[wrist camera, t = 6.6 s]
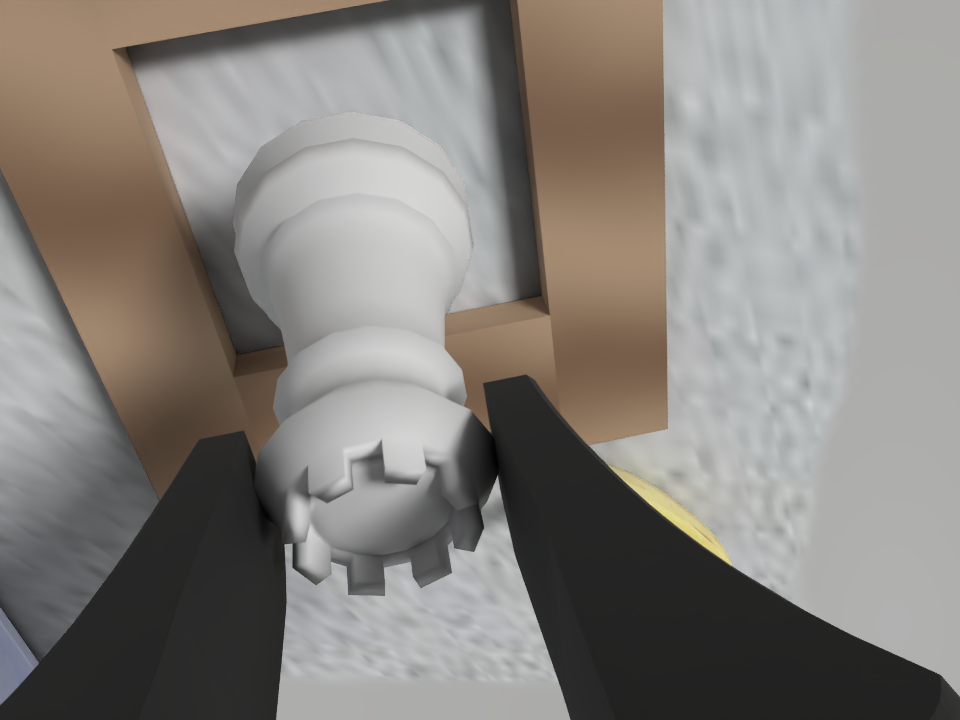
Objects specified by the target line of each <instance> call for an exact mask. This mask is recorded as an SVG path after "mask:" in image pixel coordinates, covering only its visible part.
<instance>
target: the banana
mask: <svg viewBox="0 0 960 720" xmlns="http://www.w3.org/2000/svg"><path fill="white" fill-rule="evenodd" d="M608 466H609V467H610V468H611V469H612V470H613V471H614V472H615V473H616V474H617V475H618V476H619V477H620V478H621V479H622V480H623V481H624V482H626V483H627V484H628V485H629V486H630V487H631V488H632V489H633V490H634V491H636V492H637V493H638V494H639V495H640V496H641V497H642V498H643V499H645V500H646V501H647V502H648V503H649V504H650V505H651V506H653V507H654V508H655V509H656V510H657V511H659V512H660V513H661V514H662V515H663V516H665V517H666V518H667V519H668V520H670V521H671V522H672V523H673V524H674V525H676V526H677V527H678V528H680V529H681V530H682V531H684V532H685V533H686V534H688V535H689V536H690V537H692V538H693V539H694V540H696V541H697V542H698V543H700V544H701V545H702V546H704V547H705V548H707V549H708V550H709V551H711V552H712V553H714V554H715V555H717V556H718V557H719V558H721V559H722V560H724V561H725V562H727V563H728V564H730V565H731V566H732V563H731V560H730V558H729V556H728V555H727V553H726V551H725V549H724V548H723V546H722V545H721V544H720V542H719V541H718V540H717V538H716V537H715V536H714V535H713V534H712V533H711V532H710V531H709V530H708V528H707V527H706V526H705V525H704V524H703V523H702V522H701V521H699V520H698V519H697V518H696V517H695V516H694V515H692V514H691V513H690V512H689V511H687V510H686V509H685V508H684V507H682V506H681V505H680V504H679V503H677V502H676V501H675V500H674V499H672V498H671V497H670V496H668V495H667V494H666V493H664V492H663V491H661V490H660V489H658V488H656V487H655V486H653V485H652V484H650V483H648V482H646V481H644V480H642V479H641V478H639V477H637V476H635V475H633V474H631V473H629V472H627V471H624V470H621V469H618V468H616V467H613V466H610V465H608ZM732 567H733V566H732Z"/></svg>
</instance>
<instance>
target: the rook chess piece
mask: <svg viewBox="0 0 960 720" xmlns="http://www.w3.org/2000/svg"><path fill="white" fill-rule="evenodd" d="M233 229H234V231H235V234H236V238H235V247H234V253H235V256H236V258H237V261H238V264H239V266H240V269H241V272H242V274H243V277H244V280H245V282H246V285H247V288H248V290H249V292H250V295H251V297H252V299H253V301H254V302H255V303H256V304H257V305H258V306H259V307H260V308H261V309H262V310H263V311H264V312H265V313H266V314H267V315H268V318H269V319H270V320H271V321H272V322H273V323H274V324H275V325H276V326H277V327H278V328H279V329H280V330H281V332H282V337H283V341H284V346H285V351H286V356H287V361H288V366H287V368H286V369H285V370H284V371H283V373H282V374H281V375H280V377H279V378H278V379H277V385H276V391H275V397H274V403H273V410H274V412H275V415H276V418H277V420H278V423H279V425H280V427H279V428H278V429H277V430H276V432H275V433H274V434H273V435H272V437H271V438H270V439H269V440H268V442H267V443H266V444H265V445H264V447H263V448H262V449H261V450H260V452H259V453H258V458H257V465H256V471H255V477H254V484H253V486H254V489H255V492H256V494H257V496H258V498H259V501H260V503H261V505H262V507H263V510H264V512H265V514H266V516H267V518H268V519H269V520H270V521H271V522H272V523H273V524H275V525H276V526H277V527H278V528H280V529H281V530H282V544H291V543H293V568H294V569H295V570H296V571H298V572H299V573H300V574H302V575H303V576H304V577H306V578H307V579H308V580H310V581H311V582H312V583H314V584H315V585H317V584H319V583H320V582H321V581H323V580H324V579H325V578H327V577H328V576H330V575H331V562H334V563H337V564H340V565H343V566H346V567H347V579H348V595H377V596H385V579H384V567H389V566H393V565H398V564H403V563H407V562H411V564H412V572H413V577H414V579H415V580H416V582H417V583H418V585H419V586H420V588H422V587H424V586H426V585H428V584H430V583H432V582H434V581H436V580H438V579H440V578H442V577H444V576H447V575H449V574H451V573H452V570H451V564H450V558H449V552H448V546H447V545H448V544H449V543H450V542H451V541H452V540H453V543H454V548H456V549H461V550H467V551H472V552H474V551H475V548H476V546H477V544H478V541H479V539H480V536H481V534H482V531H483V529H484V525H483V520H482V515H481V511H480V510H481V508H482V507H483V506H484V505H485V503H486V502H487V500H488V498H489V495H490V493H491V490H492V488H493V485H494V483H495V480H496V478H497V475H498V473H499V467H498V461H497V455H496V448H495V442H494V436H493V435H492V434H491V433H490V432H489V431H488V429H487V428H486V427H485V426H484V425H483V424H482V423H481V421H480V420H479V419H478V418H477V417H476V416H475V414H474V413H473V412H472V411H471V410H470V409H468V408H466V407H464V404H465V401H466V399H467V394H466V389H465V383H464V378H463V372H462V369H461V368H460V367H459V365H458V364H457V363H456V362H455V361H454V359H453V358H452V357H451V356H450V355H449V353H448V352H447V351H446V350H445V315H446V314H447V313H448V311H449V310H450V307H451V304H452V301H453V300H454V299H455V297H456V296H457V295H458V294H459V293H460V290H461V287H462V284H463V281H464V277H465V274H466V271H467V267H468V264H469V261H470V258H471V253H472V249H473V240H472V233H471V227H470V218H469V211H468V205H467V198H466V192H465V185H464V181H463V179H462V178H461V176H460V175H459V173H458V172H457V170H456V169H455V167H454V166H453V164H452V163H451V161H450V160H449V159H448V157H447V156H446V154H445V153H444V151H443V150H442V148H441V147H440V145H438V144H436V143H435V142H433V141H432V140H430V139H428V138H427V137H425V136H424V135H422V134H421V133H419V132H417V131H416V130H414V129H413V128H411V127H409V126H408V125H406V124H405V123H403V122H402V121H399V120H394V119H388V118H383V117H378V116H372V115H367V114H361V113H356V112H346V113H341V114H336V115H331V116H325V117H320V118H315V119H310V120H304V121H301V122H299V123H298V124H296V125H295V126H293V127H292V128H290V129H288V130H287V131H285V132H284V133H282V134H281V135H279V136H278V137H276V138H274V139H273V140H271V141H270V142H268V143H267V144H265V145H264V146H262V147H261V148H260V150H259V151H258V153H257V154H256V156H255V157H254V159H253V161H252V162H251V164H250V165H249V167H248V168H247V170H246V171H245V173H244V175H243V176H242V178H241V179H240V181H239V182H238V184H237V190H236V199H235V208H234V217H233Z"/></svg>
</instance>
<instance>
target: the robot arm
mask: <svg viewBox="0 0 960 720" xmlns="http://www.w3.org/2000/svg"><path fill="white" fill-rule="evenodd" d="M483 388H484V394H485V400H486V406H487V412H488V418H489V424H490V430H491V434H492V435H493V436H494V442H495V448H496V455H497V461H498V467H499V473H498V478H499V484H500V490H501V495H502V499H503V504H504V508H505V513H506V517H507V522H508V526H509V530H510V535H511V539H512V543H513V548H514V552H515V556H516V559H517V562H518V565H519V568H520V571H521V574H522V577H523V580H524V582H525V585H526V588H527V591H528V594H529V597H530V600H531V603H532V606H533V609H534V612H535V614H536V617H537V620H538V623H539V626H540V629H541V632H542V635H543V638H544V641H545V643H546V646H547V649H548V652H549V655H550V658H551V661H552V664H553V667H554V669H555V672H556V675H557V678H558V681H559V684H560V687H561V690H562V693H563V696H564V699H565V703H566V706H567V709H568V713H569V716H570V719H571V720H960V697H959V695H958V694H957V693H956V692H955V691H954V690H953V689H952V687H951V686H950V685H949V684H948V683H947V682H946V681H945V679H943V677H942V676H941V675H939V674H937V673H935V672H933V671H931V670H928V669H926V668H924V667H922V666H919V665H917V664H915V663H912V662H911V661H908V660H906V659H904V658H902V657H899V656H897V655H895V654H892V653H890V652H888V651H886V650H884V649H882V648H879V647H877V646H875V645H873V644H870V643H868V642H866V641H863V640H861V639H859V638H857V637H855V636H853V635H850V634H849V633H847V632H845V631H843V630H841V629H839V628H837V627H835V626H833V625H831V624H829V623H827V622H825V621H824V620H822V619H820V618H818V617H816V616H814V615H812V614H810V613H808V612H806V611H805V610H803V609H801V608H800V607H798V606H796V605H795V604H793V603H791V602H790V601H788V600H786V599H785V598H783V597H781V596H780V595H778V594H776V593H775V592H773V591H771V590H770V589H768V588H766V587H765V586H763V585H761V584H760V583H758V582H757V581H755V580H753V579H752V578H750V577H748V576H747V575H745V574H743V573H742V572H740V571H738V570H737V569H735V568H734V567H732V566H731V565H730V564H728V563H727V562H725V561H724V560H722V559H721V558H719V557H718V556H717V555H715V554H714V553H712V552H711V551H709V550H708V549H707V548H705V547H704V546H702V545H701V544H700V543H698V542H697V541H696V540H694V539H693V538H692V537H690V536H689V535H688V534H686V533H685V532H684V531H682V530H681V529H680V528H678V527H677V526H676V525H674V524H673V523H672V522H671V521H670V520H668V519H667V518H666V517H665V516H663V515H662V514H661V513H660V512H659V511H657V510H656V509H655V508H654V507H653V506H651V505H650V504H649V503H648V502H647V501H646V500H645V499H643V498H642V497H641V496H640V495H639V494H638V493H637V492H636V491H634V490H633V489H632V488H631V487H630V486H629V485H628V484H627V483H626V482H624V481H623V480H622V479H621V478H620V477H619V476H618V475H617V474H616V473H615V472H614V471H613V470H612V469H611V468H610V467H609V466H608V465H607V464H606V463H605V462H604V461H603V460H602V459H601V458H600V457H599V456H598V455H597V454H596V453H595V452H594V451H593V450H592V449H591V448H590V447H589V446H588V445H587V444H586V443H585V442H584V440H583V439H582V438H581V437H580V436H579V435H578V434H577V433H576V432H575V431H574V429H573V428H572V427H571V426H570V425H569V424H568V422H567V421H566V420H565V419H564V418H563V417H562V415H561V414H560V413H559V412H558V411H557V409H556V408H555V407H554V406H553V404H552V403H551V402H550V401H549V399H548V398H547V397H546V395H545V394H544V392H543V391H542V390H541V388H540V387H539V385H538V384H537V382H536V381H535V380H534V379H533V378H531V377H530V376H528V375H527V374H526V375H521V376H516V377H511V378H506V379H501V380H496V381H491V382H486V383H483ZM256 465H257V463H256V461H255V458H254V455H253V453H252V450H251V447H250V445H249V442H248V439H247V437H246V434H245V432H244V431H239V432H234V433H229V434H224V435H218V436H213V437H208V438H203V439H199V441H198V442H197V444H196V445H195V446H194V448H193V449H192V451H191V452H190V454H189V455H188V457H187V458H186V460H185V462H184V463H183V465H182V466H181V468H180V470H179V471H178V473H177V474H176V476H175V477H174V479H173V481H172V482H171V484H170V485H169V487H168V489H167V490H166V492H165V493H164V495H163V496H162V498H161V500H160V501H159V503H158V504H157V506H156V507H155V509H154V511H153V512H152V514H151V515H150V517H149V518H148V520H147V521H146V523H145V524H144V526H143V527H142V529H141V530H140V532H139V533H138V535H137V536H136V538H135V539H134V541H133V542H132V544H131V545H130V547H129V548H128V549H127V551H126V552H125V554H124V555H123V557H122V558H121V560H120V561H119V563H118V564H117V565H116V567H115V568H114V570H113V571H112V572H111V574H110V575H109V576H108V578H107V579H106V580H105V582H104V583H103V584H102V586H101V587H100V588H99V590H98V591H97V592H96V594H95V595H94V597H93V598H92V599H91V601H90V602H89V603H88V605H87V606H86V607H85V609H84V610H83V611H82V613H81V614H80V615H79V617H78V618H77V619H76V620H75V622H74V623H73V624H72V625H71V627H70V628H69V629H68V630H67V631H66V633H65V634H64V635H63V636H62V637H61V639H60V640H59V641H58V642H57V643H56V645H55V646H54V647H53V648H52V649H51V650H50V651H49V653H48V654H47V655H46V656H45V657H44V658H43V659H42V661H41V662H40V663H39V662H38V661H37V659H36V658H35V657H34V655H33V654H32V652H31V651H30V649H29V648H28V647H27V645H26V644H25V642H24V641H23V639H22V638H21V636H20V635H19V634H18V632H17V631H16V629H15V628H14V626H13V625H12V624H11V622H10V621H9V619H8V618H7V616H6V615H5V613H4V612H3V611H2V609H1V608H0V720H276V713H277V704H278V693H279V682H280V672H281V661H282V650H283V639H284V628H285V616H286V603H287V601H286V568H285V547H284V544H282V530H281V529H280V528H278V527H277V526H276V525H275V524H273V523H272V522H271V521H270V520H269V519H268V518H267V516H266V514H265V512H264V510H263V507H262V505H261V503H260V501H259V498H258V496H257V494H256V492H255V489H254V486H253V484H254V477H255V471H256Z"/></svg>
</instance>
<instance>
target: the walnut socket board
mask: <svg viewBox="0 0 960 720" xmlns="http://www.w3.org/2000/svg"><path fill="white" fill-rule="evenodd" d="M381 1H387V0H0V169H1V172H2V174H3V176H4V178H5V180H6V182H7V184H8V186H9V188H10V190H11V192H12V194H13V196H14V199H15V201H16V203H17V205H18V207H19V209H20V211H21V213H22V215H23V217H24V219H25V221H26V224H27V226H28V228H29V230H30V232H31V234H32V236H33V238H34V240H35V242H36V244H37V246H38V249H39V251H40V253H41V255H42V257H43V259H44V261H45V263H46V265H47V267H48V269H49V271H50V274H51V276H52V278H53V280H54V282H55V284H56V286H57V288H58V290H59V292H60V294H61V296H62V298H63V301H64V303H65V305H66V307H67V309H68V311H69V313H70V315H71V317H72V319H73V321H74V323H75V326H76V328H77V330H78V332H79V334H80V336H81V338H82V340H83V342H84V344H85V346H86V348H87V351H88V353H89V355H90V357H91V359H92V361H93V363H94V365H95V367H96V369H97V371H98V373H99V376H100V378H101V380H102V382H103V384H104V386H105V388H106V390H107V392H108V394H109V396H110V398H111V400H112V403H113V405H114V407H115V409H116V411H117V413H118V415H119V417H120V419H121V421H122V423H123V425H124V428H125V430H126V432H127V434H128V436H129V438H130V440H131V442H132V444H133V446H134V448H135V450H136V453H137V455H138V457H139V459H140V461H141V463H142V465H143V467H144V469H145V471H146V473H147V475H148V478H149V480H150V482H151V484H152V486H153V488H154V490H155V492H156V494H157V496H158V498H159V500H161V498H162V496H163V495H164V493H165V492H166V490H167V489H168V487H169V485H170V484H171V482H172V481H173V479H174V477H175V476H176V474H177V473H178V471H179V470H180V468H181V466H182V465H183V463H184V462H185V460H186V458H187V457H188V455H189V454H190V452H191V451H192V449H193V448H194V446H195V445H196V444H197V442H198V441H199V439H203V438H208V437H213V436H218V435H224V434H229V433H234V432H239V431H244V432H245V434H246V437H247V439H248V442H249V445H250V447H251V450H252V453H253V455H254V458H255V461H256V463H257V458H258V453H259V452H260V450H261V449H262V448H263V447H264V445H265V444H266V443H267V442H268V440H269V439H270V438H271V437H272V435H273V434H274V433H275V432H276V430H277V429H278V428H279V427H280V425H279V423H278V420H277V418H276V415H275V412H274V410H273V403H274V397H275V391H276V385H277V379H278V378H279V377H280V375H281V374H282V373H283V371H284V370H285V369H286V368H287V366H288V361H287V356H286V351H285V346H281V347H276V348H271V349H266V350H260V351H255V352H250V353H245V354H240V355H236V352H235V349H234V346H233V344H232V341H231V338H230V335H229V333H228V330H227V327H226V324H225V322H224V319H223V316H222V313H221V310H220V308H219V305H218V302H217V299H216V297H215V294H214V291H213V288H212V286H211V283H210V280H209V277H208V275H207V272H206V269H205V266H204V263H203V261H202V258H201V255H200V252H199V250H198V247H197V244H196V241H195V239H194V236H193V233H192V230H191V227H190V225H189V222H188V219H187V216H186V214H185V211H184V208H183V205H182V203H181V200H180V197H179V194H178V191H177V189H176V186H175V183H174V180H173V178H172V175H171V172H170V169H169V167H168V164H167V161H166V158H165V155H164V153H163V150H162V147H161V144H160V142H159V139H158V136H157V133H156V131H155V128H154V125H153V122H152V120H151V117H150V114H149V111H148V108H147V106H146V103H145V100H144V97H143V95H142V92H141V89H140V86H139V84H138V81H137V78H136V75H135V72H134V70H133V67H132V64H131V61H130V59H129V56H128V53H127V50H126V48H125V47H127V46H133V45H139V44H144V43H150V42H156V41H161V40H167V39H172V38H178V37H184V36H189V35H195V34H201V33H206V32H212V31H218V30H223V29H229V28H234V27H240V26H246V25H251V24H257V23H263V22H268V21H274V20H280V19H285V18H291V17H296V16H302V15H308V14H313V13H319V12H325V11H330V10H336V9H342V8H347V7H353V6H358V5H364V4H370V3H375V2H381ZM510 7H511V16H512V26H513V35H514V44H515V53H516V62H517V72H518V81H519V90H520V99H521V108H522V118H523V127H524V136H525V145H526V154H527V164H528V173H529V182H530V191H531V201H532V210H533V219H534V228H535V237H536V247H537V256H538V265H539V274H540V283H541V293H542V296H538V297H533V298H528V299H523V300H518V301H513V302H507V303H502V304H497V305H492V306H487V307H482V308H477V309H471V310H466V311H461V312H456V313H451V314H446V315H445V350H446V351H447V352H448V353H449V355H450V356H451V357H452V358H453V359H454V361H455V362H456V363H457V364H458V365H459V367H460V368H461V369H462V372H463V378H464V383H465V389H466V394H467V399H466V401H465V404H464V407H466V408H468V409H470V410H471V411H472V412H473V413H474V414H475V416H476V417H477V418H478V419H479V420H480V421H481V423H482V424H483V425H484V426H485V427H486V428H487V429H488V431H489V432H490V433H491V430H490V424H489V418H488V412H487V406H486V400H485V394H484V388H483V383H486V382H491V381H496V380H501V379H506V378H511V377H516V376H521V375H526V374H527V375H528V376H530V377H531V378H533V379H534V380H535V381H536V382H537V384H538V385H539V387H540V388H541V390H542V391H543V392H544V394H545V395H546V397H547V398H548V399H549V401H550V402H551V403H552V404H553V406H554V407H555V408H556V409H557V411H558V412H559V413H560V414H561V415H562V417H563V418H564V419H565V420H566V421H567V422H568V424H569V425H570V426H571V427H572V428H573V429H574V431H575V432H576V433H577V434H578V435H579V436H580V437H581V438H582V439H583V440H584V442H585V443H586V444H587V445H591V444H596V443H601V442H606V441H611V440H616V439H621V438H625V437H630V436H635V435H640V434H645V433H650V432H655V431H660V430H665V429H668V404H667V323H666V243H665V163H664V82H663V2H662V0H510Z"/></svg>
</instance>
